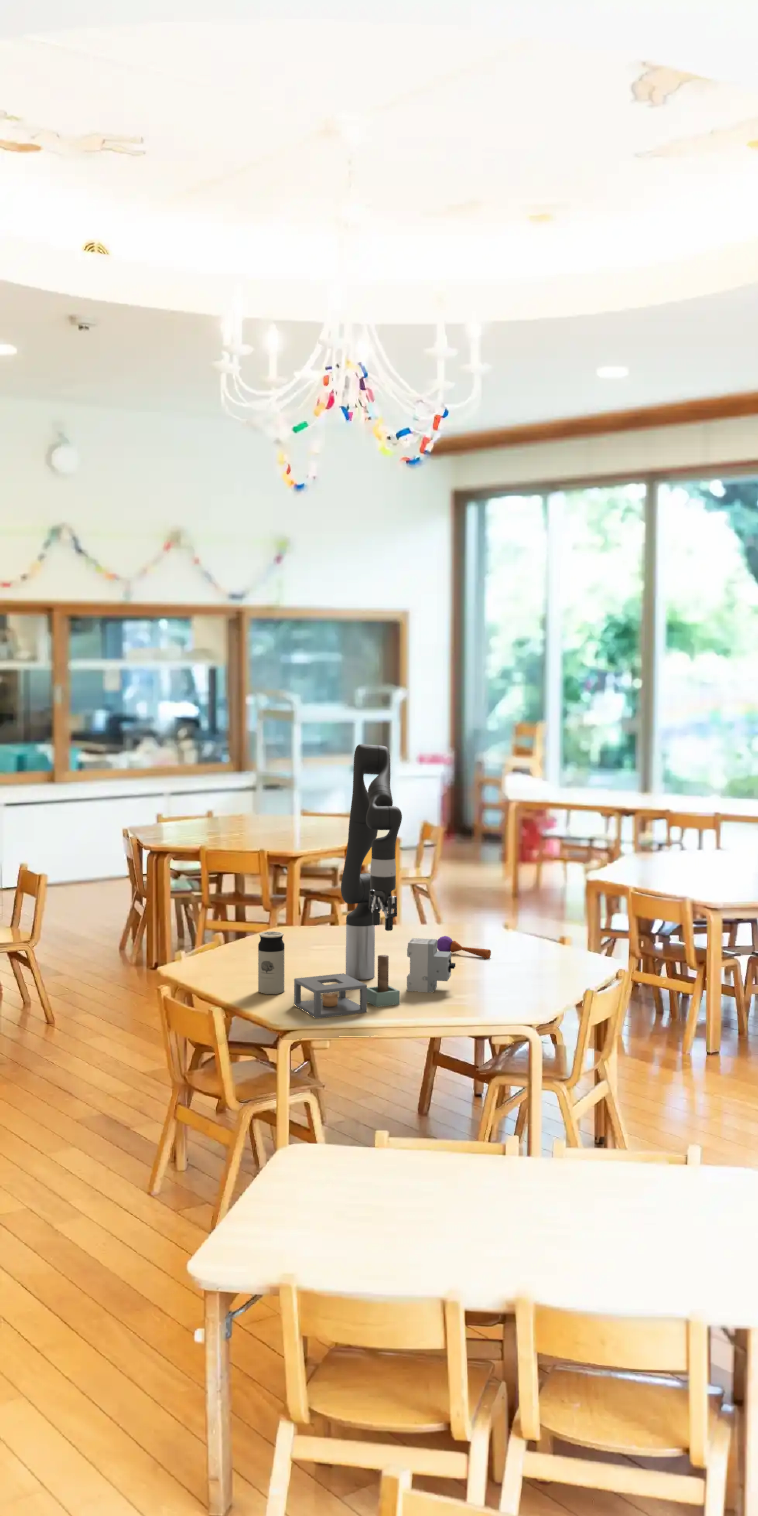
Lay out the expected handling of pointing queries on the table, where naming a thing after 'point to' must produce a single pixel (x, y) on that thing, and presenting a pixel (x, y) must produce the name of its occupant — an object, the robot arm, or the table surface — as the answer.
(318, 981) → the gray open box frame
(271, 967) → the travel mug
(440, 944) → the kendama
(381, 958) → the brown rounded rod
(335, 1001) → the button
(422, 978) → the circuit breaker
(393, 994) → the holder
